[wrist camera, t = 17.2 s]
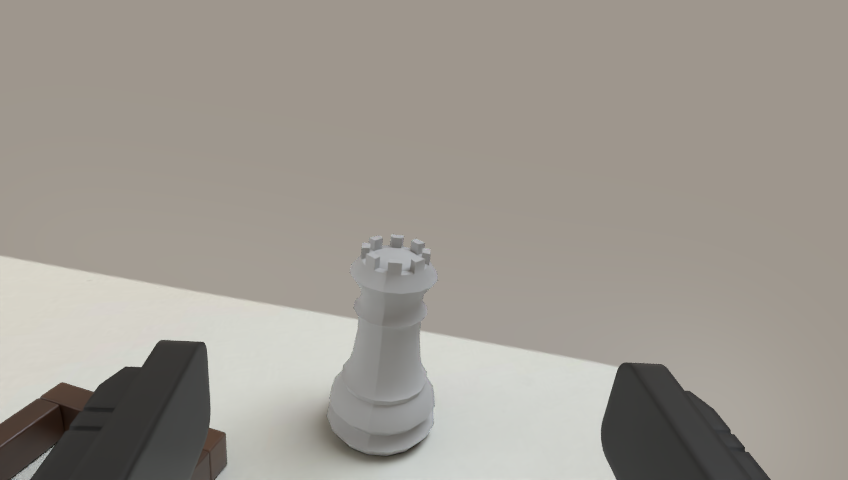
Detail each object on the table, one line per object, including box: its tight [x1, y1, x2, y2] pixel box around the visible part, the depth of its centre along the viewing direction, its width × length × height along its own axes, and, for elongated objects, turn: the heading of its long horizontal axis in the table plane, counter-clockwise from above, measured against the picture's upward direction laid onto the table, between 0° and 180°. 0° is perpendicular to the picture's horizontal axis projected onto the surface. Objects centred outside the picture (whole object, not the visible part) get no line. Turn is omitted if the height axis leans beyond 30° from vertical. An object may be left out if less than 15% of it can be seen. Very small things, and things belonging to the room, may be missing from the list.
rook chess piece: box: [327, 234, 438, 456], centre depth 22 cm, size 4×4×8 cm
